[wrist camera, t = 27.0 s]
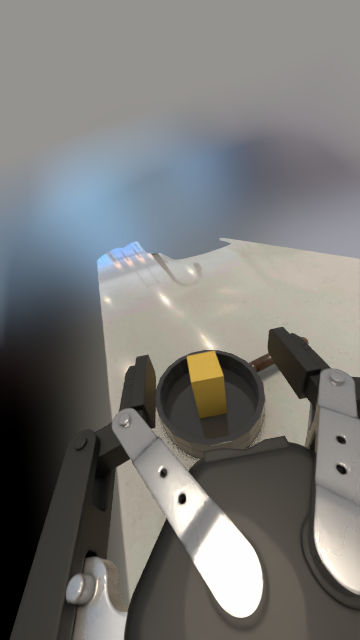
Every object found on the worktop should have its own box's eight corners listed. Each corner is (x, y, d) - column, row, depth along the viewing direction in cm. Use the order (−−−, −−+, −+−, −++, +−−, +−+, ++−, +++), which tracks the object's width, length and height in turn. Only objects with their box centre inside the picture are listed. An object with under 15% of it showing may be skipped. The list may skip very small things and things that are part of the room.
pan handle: (252, 378, 33) (252, 370, 32) (244, 370, 35) (244, 362, 33) (310, 347, 36) (312, 339, 35) (300, 341, 38) (302, 333, 36)
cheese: (227, 413, 31) (223, 375, 26) (199, 418, 31) (190, 382, 26) (219, 387, 35) (214, 350, 30) (194, 391, 35) (186, 355, 30)
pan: (186, 486, 25) (180, 473, 22) (150, 389, 38) (144, 374, 36) (288, 422, 29) (292, 405, 26) (223, 354, 42) (222, 338, 39)
